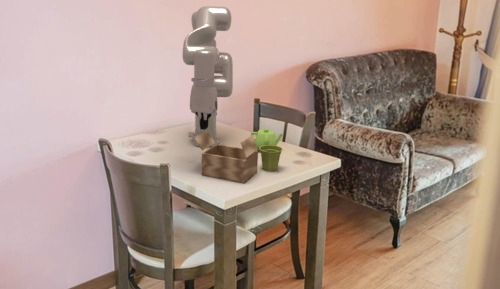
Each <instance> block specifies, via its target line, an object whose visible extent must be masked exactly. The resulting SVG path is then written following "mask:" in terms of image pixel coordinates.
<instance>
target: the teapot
mask: <svg viewBox="0 0 500 289" xmlns="http://www.w3.org/2000/svg"><path fill="white" fill-rule="evenodd" d="M251 135H253V137H254V136H255V138H254V140H255V143H256V146H257V151H259V152H258V153H260V149H259V147H260V146H264V145H275V146H278V144H279V142H280V141H281V139H282V137H283V136H284V133H279V134H278V136H277V137H276V133H275V131H274V130H272V129H269V128H263V129H258V131H251V132H250V136H251Z"/></svg>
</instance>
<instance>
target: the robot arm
mask: <svg viewBox="0 0 500 289" xmlns="http://www.w3.org/2000/svg"><path fill="white" fill-rule="evenodd" d="M191 26H192V31H190V33H188V34H187V35H186V36H185V38H184V40H183V45H182V60H183V63H184V64H185V65H188V66H193V68H194V69H193V76H194V77H192V78H191V82H192V83H193V84H192V86H191V90H190V96H189V99H190V100H189V109H190V112H191V113H192V114H194V115H195V116H194V120H195V123H194V129H195V130H194V132H192V131H189V132H188V134H187V137H188V138H191V139H192V140H191V144H192V145H193V146H196V147H199V145H198V144H197V142H196V141H195V139H194V137H195V136H197V135H199V134H201V133H203V132H205V131H206V130H207V131H208V132H209V134H210V135H211V137H212V138H213V140H214V141H215V143H214V144H212V145H211V146H209V147H208V148H211V147H213V146H214V145H216V144H219V145H220V141H219V139H218V138H217V115H218V112H217V111H218V108H219V107H218V105H219V104H218V103H219V102H218V98H229V97H231V96H232V94H233V90H234V89H233V85H234V84H233V81H234V80H233V79H234V78H233V77H234V75H233V74H234V71H233V66H234V65H233V63H234V62H233V57H232V55H231V54H230V53H229V52H225V51H224V52H221V51H219V48H217V41H216V36H217V32H227V31H229V30H230V28H231V26H232V13H231V10H230V9H229V8H228V7H226V6H209V5H207V6H202V7H200V8H199V9H198V10H197V11H195V12H194V11H193V13H192V15H191ZM215 74H217V75H215ZM218 74H219V75H218ZM199 148H200V147H199Z"/></svg>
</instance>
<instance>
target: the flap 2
mask: <svg viewBox="0 0 500 289" xmlns="http://www.w3.org/2000/svg"><path fill="white" fill-rule="evenodd" d="M254 139H255V138H254V136H253V135H251V134H250V136H248V137H246V138H245V139H243V141H241V142H240V146H241V148H242V149H243V152H244V154H245V157H246V158H247V157H248V156H250V155H251V154H252V153H253V152H255V151H258V149H257V146H256V143H255V140H254Z"/></svg>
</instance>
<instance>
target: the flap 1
mask: <svg viewBox="0 0 500 289" xmlns="http://www.w3.org/2000/svg"><path fill="white" fill-rule="evenodd" d="M194 139H195V141H196V142H197V144H198V145H199V148H200V149H201V151H204V150H205V149H206V150H207V149H208V148H210V147H209V146H211V145H212V144H214V143H215V141H214V140H213V138H212V137H211V135H210V134H209V132H208V131H207V130H206V131H205V132H203V133H201V134H199V135H197V136H195V137H194Z"/></svg>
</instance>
